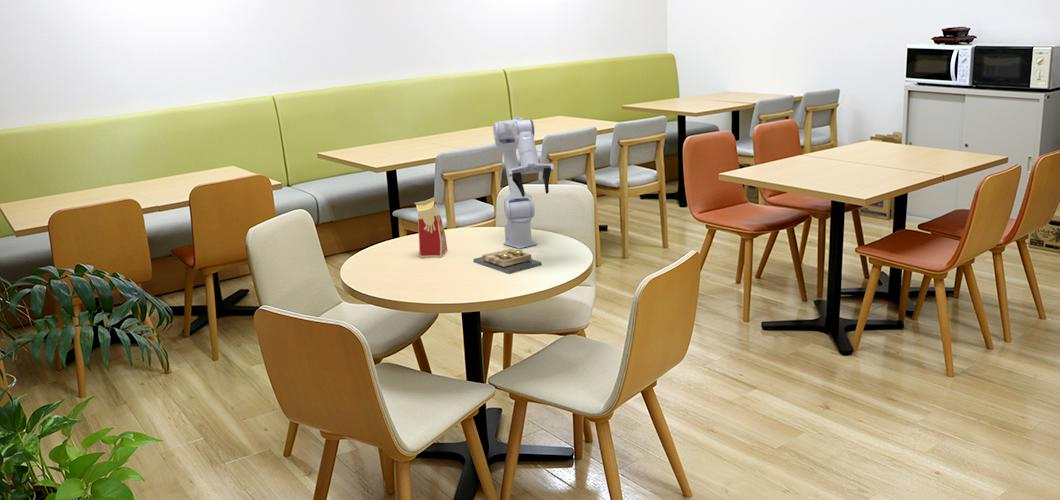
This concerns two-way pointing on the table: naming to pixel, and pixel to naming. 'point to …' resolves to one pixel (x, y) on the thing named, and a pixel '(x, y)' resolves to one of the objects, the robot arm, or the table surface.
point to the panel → (513, 259)
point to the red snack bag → (430, 230)
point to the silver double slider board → (509, 268)
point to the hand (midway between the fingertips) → (535, 193)
